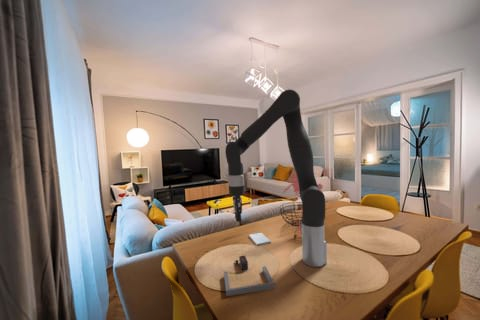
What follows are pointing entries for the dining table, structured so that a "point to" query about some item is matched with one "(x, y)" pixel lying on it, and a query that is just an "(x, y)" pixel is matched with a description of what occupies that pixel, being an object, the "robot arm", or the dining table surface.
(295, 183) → the figurine
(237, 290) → the slot rails
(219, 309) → the dining table surface
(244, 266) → the wireless earbuds
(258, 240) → the hard drive
